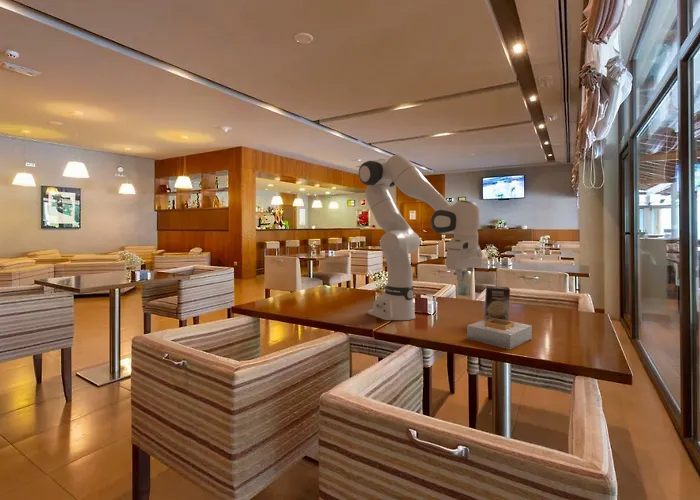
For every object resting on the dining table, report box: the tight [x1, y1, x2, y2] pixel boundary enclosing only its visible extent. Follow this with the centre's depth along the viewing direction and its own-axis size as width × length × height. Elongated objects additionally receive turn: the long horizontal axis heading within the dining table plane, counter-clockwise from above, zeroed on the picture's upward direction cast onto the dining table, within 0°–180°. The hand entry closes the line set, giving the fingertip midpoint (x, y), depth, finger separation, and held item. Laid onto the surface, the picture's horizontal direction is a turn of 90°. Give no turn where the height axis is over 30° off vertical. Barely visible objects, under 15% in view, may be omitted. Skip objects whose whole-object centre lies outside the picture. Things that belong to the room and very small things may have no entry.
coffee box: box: [483, 285, 511, 321], centre depth 159 cm, size 9×6×16 cm
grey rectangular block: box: [466, 317, 533, 350], centre depth 141 cm, size 16×18×6 cm
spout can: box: [453, 269, 472, 297], centre depth 147 cm, size 7×5×9 cm
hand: (464, 279), depth 146 cm, fingers closed on spout can, 5 cm apart
